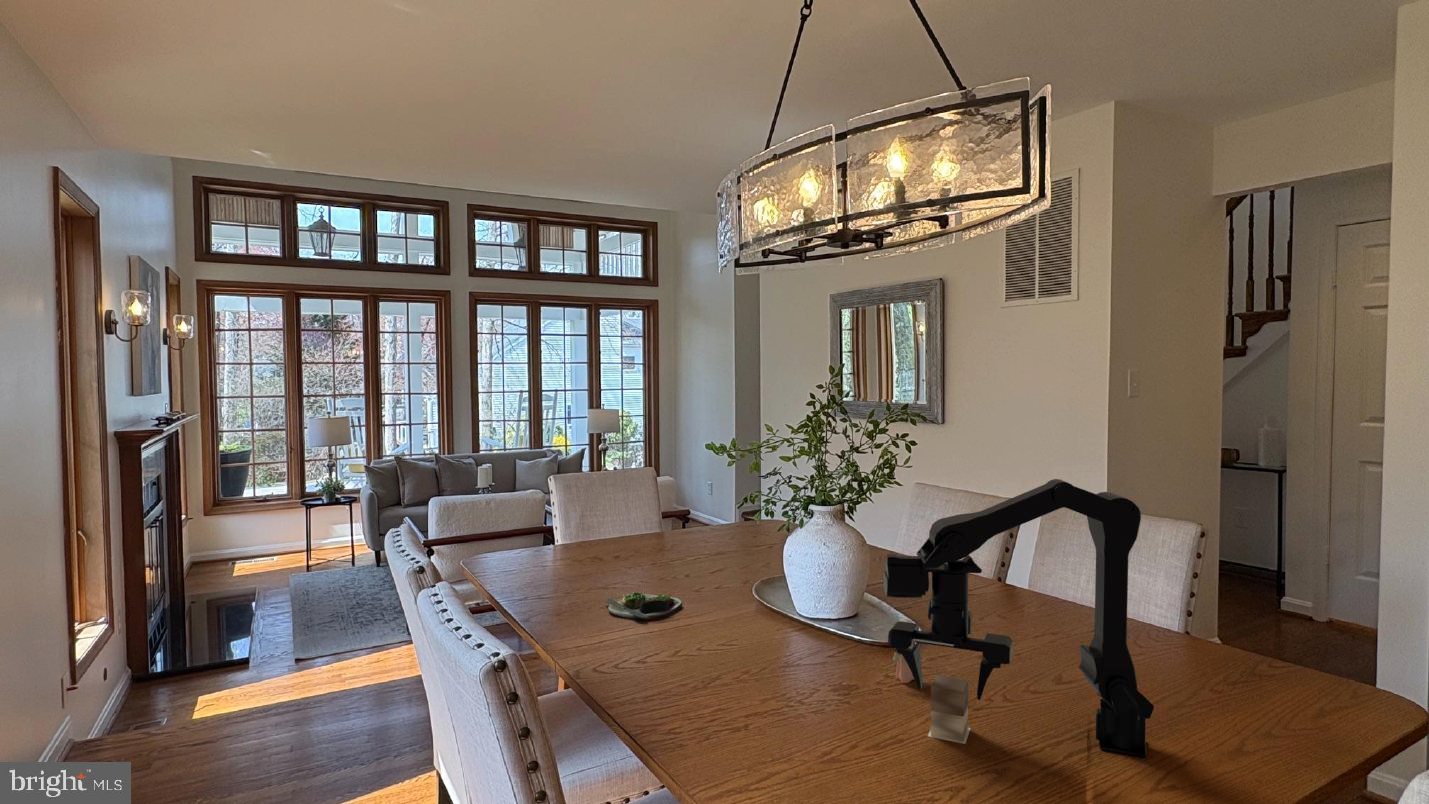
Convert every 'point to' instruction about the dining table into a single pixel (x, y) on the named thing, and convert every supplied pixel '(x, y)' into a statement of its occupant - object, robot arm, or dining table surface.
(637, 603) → the salad plate
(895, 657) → the grandmother figurine
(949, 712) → the walnut block
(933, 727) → the maple block
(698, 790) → the dining table surface
